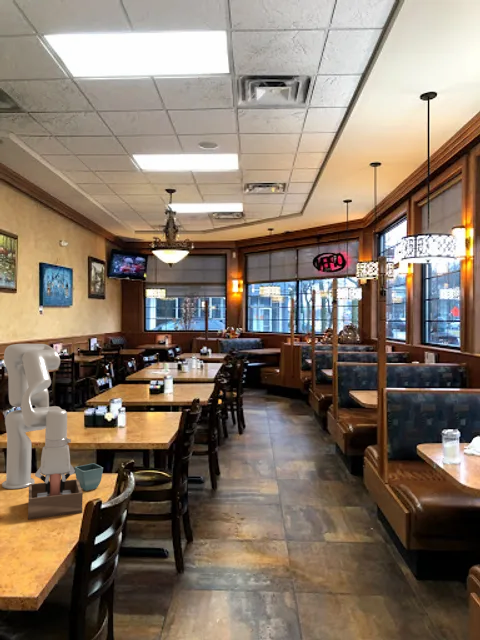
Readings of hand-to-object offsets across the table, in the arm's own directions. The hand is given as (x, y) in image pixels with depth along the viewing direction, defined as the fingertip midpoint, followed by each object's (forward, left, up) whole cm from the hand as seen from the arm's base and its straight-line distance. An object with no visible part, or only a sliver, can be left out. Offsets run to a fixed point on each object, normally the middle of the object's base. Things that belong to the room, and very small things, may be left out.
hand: (54, 491), depth 182 cm
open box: (0, 0, -6) cm, 6 cm away
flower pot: (-18, +14, -6) cm, 24 cm away
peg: (0, 0, -3) cm, 3 cm away
